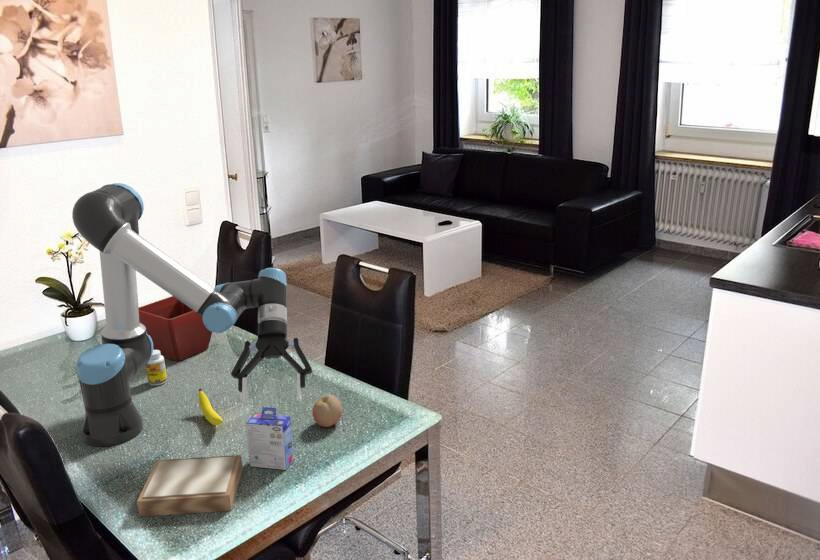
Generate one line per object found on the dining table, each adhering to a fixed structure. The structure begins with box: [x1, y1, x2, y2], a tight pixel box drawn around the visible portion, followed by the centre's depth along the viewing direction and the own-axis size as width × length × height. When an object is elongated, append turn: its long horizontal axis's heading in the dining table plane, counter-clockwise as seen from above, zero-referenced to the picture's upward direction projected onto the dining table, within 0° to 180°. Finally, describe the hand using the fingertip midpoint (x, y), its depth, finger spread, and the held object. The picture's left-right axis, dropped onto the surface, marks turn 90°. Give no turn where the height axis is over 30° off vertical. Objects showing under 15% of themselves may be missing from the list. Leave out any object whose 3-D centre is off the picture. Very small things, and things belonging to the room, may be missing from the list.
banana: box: [198, 388, 224, 427], centre depth 190 cm, size 3×19×6 cm, turn 32°
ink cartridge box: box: [245, 406, 295, 471], centre depth 169 cm, size 10×6×14 cm, turn 78°
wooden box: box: [136, 454, 244, 517], centre depth 160 cm, size 20×16×4 cm
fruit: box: [311, 394, 343, 428], centre depth 187 cm, size 8×8×8 cm
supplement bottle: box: [145, 349, 168, 386], centre depth 214 cm, size 6×6×10 cm
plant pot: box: [138, 295, 213, 362], centre depth 235 cm, size 19×19×17 cm
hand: (271, 402), depth 174 cm, fingers open, 13 cm apart
